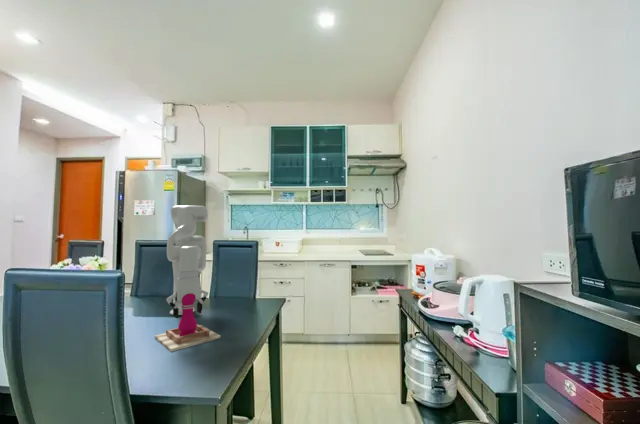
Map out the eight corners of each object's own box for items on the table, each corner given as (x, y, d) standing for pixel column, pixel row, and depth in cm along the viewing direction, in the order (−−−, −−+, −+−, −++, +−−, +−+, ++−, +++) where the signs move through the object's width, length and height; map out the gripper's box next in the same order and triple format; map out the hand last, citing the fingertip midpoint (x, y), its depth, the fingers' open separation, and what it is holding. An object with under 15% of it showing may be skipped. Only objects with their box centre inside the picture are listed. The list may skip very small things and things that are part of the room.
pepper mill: (190, 340, 124) (190, 291, 125) (174, 339, 126) (175, 290, 126) (200, 334, 131) (200, 287, 132) (185, 332, 133) (185, 286, 134)
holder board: (154, 337, 130) (154, 330, 130) (201, 327, 144) (201, 320, 144) (170, 351, 115) (171, 343, 116) (220, 338, 129) (220, 330, 129)
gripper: (204, 271, 140) (204, 309, 139) (164, 276, 127) (163, 317, 127) (211, 273, 134) (211, 312, 133) (170, 278, 122) (169, 321, 121)
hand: (187, 314), depth 130 cm, fingers open, 9 cm apart
